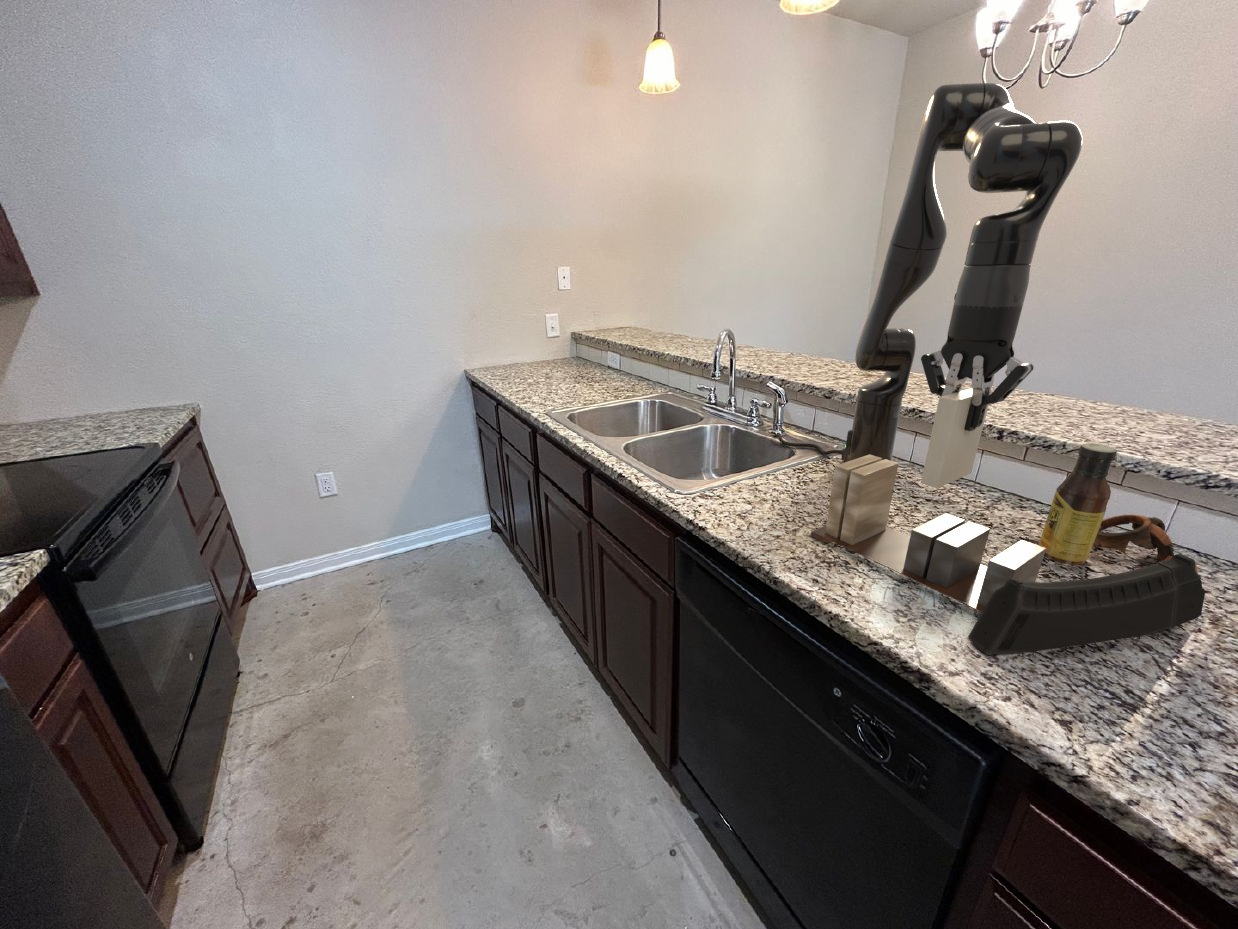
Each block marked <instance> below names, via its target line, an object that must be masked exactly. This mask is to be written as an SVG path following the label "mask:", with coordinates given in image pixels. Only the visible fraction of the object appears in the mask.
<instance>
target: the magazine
mask: <svg viewBox="0 0 1238 929" xmlns="http://www.w3.org/2000/svg"><path fill="white" fill-rule="evenodd" d="M1205 596H1206V590H1205V588H1204V587H1203V582H1202V576H1201V575H1200V574H1199V569H1198V565H1197V563H1196V561H1195V559H1194V558H1192V557H1189V556H1187V555H1184V554H1182V553H1176V554H1174V555H1173V557H1172V558H1171V559H1169V560H1166V561H1163V560H1161V561H1157V562H1155V563H1154V564H1151V565H1146V566H1143V567H1141V568H1135V569H1133V570H1129V571H1125V572H1121V573H1114V574H1110V575H1106V576H1105V575H1104V576H1100V577H1093V578H1092V577H1091V578H1084V579H1083V578H1082V579H1071V580H1060V581H1050V582H1047V581H1045V582H1037V581H1036V582H1024V581H1019V580H1016V579H1009V580H1007V582H1006V584H1005V585H1004V586H1003V587H1001V588H999V589H997V590H996V591H995V592H994V593H993V594H992V596H991V598H990V600H989V601H988V603H987V605H986V607H985V608H984V610H983V612H981V613H980V615H979V617H978V619H977V620H976V622H975V623H974V626H973V627H972V629H971V631H970V632H969V634H968V639H967V640H969V641H970V642H971V644H972V645H973V646H974V647H975V648H977V649H978V650H979V651H980V652H981V653H985V654H986V655H987V656H994V655H1014V654H1027V653H1033V652H1041V651H1047V650H1054V649H1061V648H1068V647H1069V648H1070V647H1076V646H1082V645H1089V644H1097V643H1104V642H1110V641H1117V640H1124V639H1130V638H1138V637H1144V636H1149V635H1151V634H1155V633H1158V632H1161V631H1164V630H1168V629H1171V628H1175V627H1177V626H1181V625H1183V624H1185V623H1188V622H1191V621H1194V620H1197V619H1198V618H1200V617H1201V616H1202V611H1203V607H1204V602H1205Z"/></svg>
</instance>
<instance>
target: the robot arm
mask: <svg viewBox="0 0 1238 929" xmlns="http://www.w3.org/2000/svg"><path fill="white" fill-rule="evenodd" d="M1082 146H1083V135H1082V132H1081V129H1080V128H1079V126H1078V125H1077V124H1076V123H1075V122H1072V121H1070V120H1069V121H1068V120H1059V121H1048V122H1047V121H1046V122H1039V123H1036V122H1035V121H1034V120H1033V118H1031V117H1030V116H1029V115H1026V114H1024V113H1022V112H1020V111H1018V110H1017V109H1015V107H1014V103H1013V101H1012V99H1011V97H1010V94H1009V92H1008V90H1007V89H1006V88H1005V87H1004V86H1002V85H1001V84H998V83H995V82H994V83H993V82H979V83H978V82H977V83H975V82H974V83H955V84H954V83H951V84H942V85H940V86H938V87H937V88H936V89H935V90H934V91H933V93H932V94H931V96H930V98H929V100H928V102H927V104H926V107H925V110H924V114H923V117H922V121H921V125H920V129H919V133H918V137H917V142H916V145H915V150H914V154H913V159H912V163H911V168H910V172H909V176H908V180H907V181H908V182H907V184H906V188H905V192H904V195H903V199H902V202H901V206H900V208H899V212H898V214H897V218H896V222H895V224H894V227H893V230H892V233H891V237H890V240H889V243H888V247H887V250H886V253H885V256H884V257H885V258H884V261H883V265H882V269H881V272H880V277H879V280H878V283H877V287H876V291H875V294H874V297H873V300H872V303H871V306H870V309H869V311H868V314H867V315H866V316H867V317H866V319H865V322H864V324H863V326H862V329H861V331H860V335H859V338H858V340H857V345H856V349H855V356H854V359H855V365H856V367H857V368H858V369H859V370H860V371H863V372H884V373H883V375H882V376H881V377H880V378H878V379H876V380H874V381H872V382H870V383H867V384H863V385H861V386H860V387H859V388H858V390H857V395H856V401H855V407H854V415H853V419H852V420H853V421H852V428H851V429H849V430H848V431H847V433H846V434H847V435H846V440H845V446H844V448H842V449H830V450H824V449H823V447H822V446H820V445H818V444H815V443H809V442H807V443H806V442H801V443H800V442H789V441H785V440H784V439H783V436H782V433H781V432H779V433H778V432H776V433H777V435H776V433H774V434H773V437H774V438H778V440H779V442H780V443H781V444H782V445H784V446H786V447H787V446H788V447H795V448H796V447H797V448H813V449H816V450H818V452H819V453H821V454H822V455H824V456H829V455H831V454H835V455H836V454H838V455H841V456H840V460H841V461H842V463H845V462H848V461H851V460H854V459H857V458H860V457H864V456H867V455H873V456H876V457H880V458H882V460H885V459H887V460H890V461H892V457H893V452H894V446H895V441H896V436H897V430H898V425H899V420H900V414H901V409H902V403H903V398H904V395H905V394H906V391H907V387H908V384H909V379H910V374H911V370H912V366H913V363H914V360H915V359H914V358H915V355H916V349H917V339H916V335H915V333H914V332H913V330H911V329H909V328H900V327H899V328H896V327H895V328H888V327H889V325H890V322H891V320H892V319H893V317H894V316H895V314H896V312H897V311H898V310H899V309H900V308H901V306H902V305H904V303H905V302H907V300H908V299H910V298H911V297H912V296H913V295H914V294H915V293H916V292H917V291H918V290H919V289H920V288H921V287H922V286H923V285H924V284H925V283H926V282H927V281H928V280H929V278H930V277H931V276H932V275H933V273H934V271H935V270H936V267H937V265H938V262H939V260H940V257H941V254H942V252H943V248H944V247H945V243H946V240H947V236H948V229H947V223H946V220H945V216H944V213H943V209H942V207H941V203H940V201H939V198H938V194H937V189H936V184H935V182H936V181H935V166H936V165H935V163H936V159H937V155H938V152H963V155H964V157H965V159H966V161H967V162H968V163H969V168H968V172H967V173H968V176H967V179H968V183H969V186H970V188H971V189H972V190H974V192H975V191H976V192H978V193H983V194H999V193H1000V194H1001V193H1017V192H1018V193H1019V192H1025V195H1024V197H1023V199H1022V200H1021V201H1020V203H1019V204H1018V205H1017V206H1016V207H1014V208H1013V209H1010V210H1007V211H1004V212H1003V211H1002V212H999V213H994V214H990V215H986V216H983V217H982V218H979V219H978V220H977V221H975V223H974V225H973V227H972V229H971V233H970V238H969V241H968V242H969V244H968V247H967V253H966V256H965V260H964V261H965V262H964V266H963V268H962V269H963V270H962V272H961V275H960V278H959V281H958V284H957V288H956V292H955V293H954V302H953V306H952V311H951V315H950V321H949V326H948V330H947V338H946V341H945V343H944V344H943V345H942V347H941V348H940V350H938V351H935V352H930V353H926V354H923V355H922V356H921V357H920V362H921V364H922V368H923V371H924V374H925V375H924V376H925V378H926V381H927V385H928V389H929V392H930V393H931V394H932V395H937V396H939V397H942V396H945V395H949V394H952V393H956V392H960V391H962V388H963V386H964V384H965V383H966V381H967V379H969V380H971V388H972V389H973V393H972V405H970V407H969V411H968V415H967V419H966V424H965V428H964V430H967V431H972V430H975V429H976V428H977V427H979V426H980V425H981V424H982V422H983V418H984V414H985V410H986V406H987V405H988V404H989V405H990V404H991V405H994V404H997V403H999V402H1004V401H1005V400H1006V399H1007V398H1008V397H1009V396H1010V395H1011V394H1012V393H1013V392H1014V391H1015V389H1017V387H1018V386H1019V385H1020V384H1021V383H1022V382H1023V381H1024V380H1025V379H1026V378H1027V377H1028V376H1029V375H1030V374H1031V373H1032V371H1034V369H1035V368H1034V365H1033V364H1032V363H1029V362H1027V363H1024V362H1023V361H1022V360H1020V359H1018V358H1016V357H1015V351H1014V347H1013V343H1014V339H1015V337H1016V333H1017V330H1018V326H1019V322H1020V318H1021V314H1022V310H1023V307H1024V303H1025V300H1026V295H1027V291H1028V287H1029V282H1030V275H1031V274H1030V272H1031V266H1032V265H1031V264H1032V262H1033V258H1034V254H1035V250H1036V247H1037V242H1038V240H1039V235H1040V233H1041V229H1042V227H1043V225H1044V222H1045V220H1046V219H1047V216H1048V215H1049V212H1050V210H1051V208H1052V206H1053V205H1054V202H1055V200H1056V198H1057V197H1058V195H1059V193H1060V191H1061V190H1062V188H1063V186H1064V184H1065V183H1066V181H1067V179H1068V178H1069V177H1070V174H1071V173H1072V171H1073V169H1074V167H1075V165H1076V163H1077V161H1078V159H1079V158H1080V154H1081V151H1082ZM944 361H945V364H946V366H947V368H948V372H947V375H946V377H945V375H944V371H943V368H942V365H943V363H944ZM1005 366H1007V368H1006V369H1005V378H1004V379H1003V380H1002V381H1001V383H999V385H997V387H996V388H995V389H994V390H992V387H993V385H994V380H995V374H997V373H998V372H999V371H1001V370H1002V369H1003V368H1004V367H1005ZM991 390H992V393H991ZM990 393H991V394H990ZM989 405H988V406H989Z"/></svg>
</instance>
